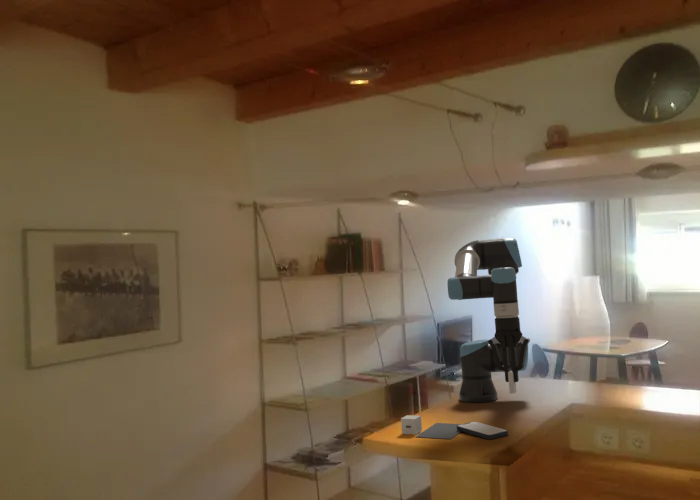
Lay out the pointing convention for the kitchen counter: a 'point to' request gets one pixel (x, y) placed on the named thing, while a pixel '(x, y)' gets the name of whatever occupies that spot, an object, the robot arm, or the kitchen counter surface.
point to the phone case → (482, 430)
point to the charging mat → (440, 431)
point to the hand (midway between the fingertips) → (513, 392)
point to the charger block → (411, 424)
